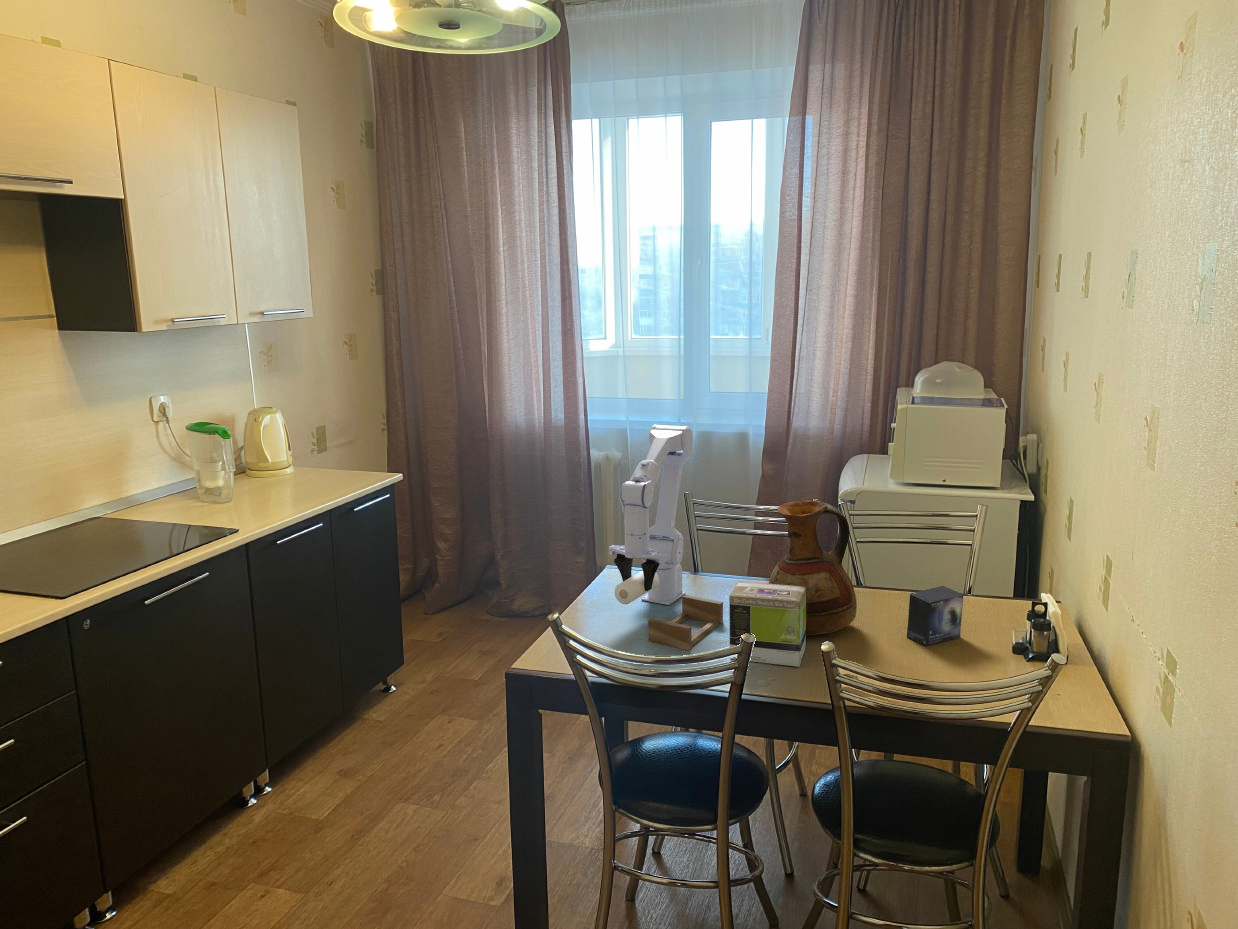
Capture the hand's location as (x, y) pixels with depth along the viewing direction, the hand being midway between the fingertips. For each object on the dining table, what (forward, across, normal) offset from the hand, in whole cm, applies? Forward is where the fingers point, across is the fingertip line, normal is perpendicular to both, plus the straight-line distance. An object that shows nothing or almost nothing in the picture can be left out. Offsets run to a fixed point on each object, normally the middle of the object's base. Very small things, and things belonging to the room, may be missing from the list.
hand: (637, 587), depth 212 cm
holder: (+8, +13, 0) cm, 15 cm away
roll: (0, 0, 0) cm, 1 cm away
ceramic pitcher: (+9, +37, +16) cm, 41 cm away
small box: (+9, +62, +24) cm, 67 cm away
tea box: (+9, +34, -3) cm, 35 cm away
